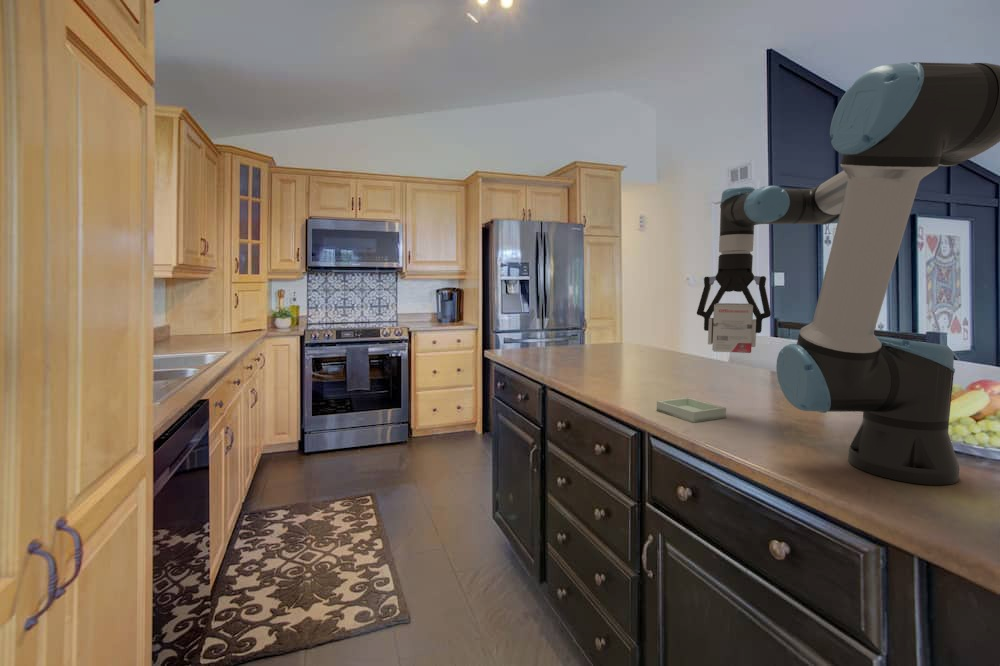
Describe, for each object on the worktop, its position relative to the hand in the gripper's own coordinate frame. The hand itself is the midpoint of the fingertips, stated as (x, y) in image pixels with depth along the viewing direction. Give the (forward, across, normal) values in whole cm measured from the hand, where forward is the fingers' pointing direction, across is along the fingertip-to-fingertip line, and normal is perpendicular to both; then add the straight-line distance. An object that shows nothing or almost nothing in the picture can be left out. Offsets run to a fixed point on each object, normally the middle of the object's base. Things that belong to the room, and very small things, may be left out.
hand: (731, 345), depth 122 cm
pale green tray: (+18, +8, +4) cm, 20 cm away
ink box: (+2, 0, 0) cm, 2 cm away
